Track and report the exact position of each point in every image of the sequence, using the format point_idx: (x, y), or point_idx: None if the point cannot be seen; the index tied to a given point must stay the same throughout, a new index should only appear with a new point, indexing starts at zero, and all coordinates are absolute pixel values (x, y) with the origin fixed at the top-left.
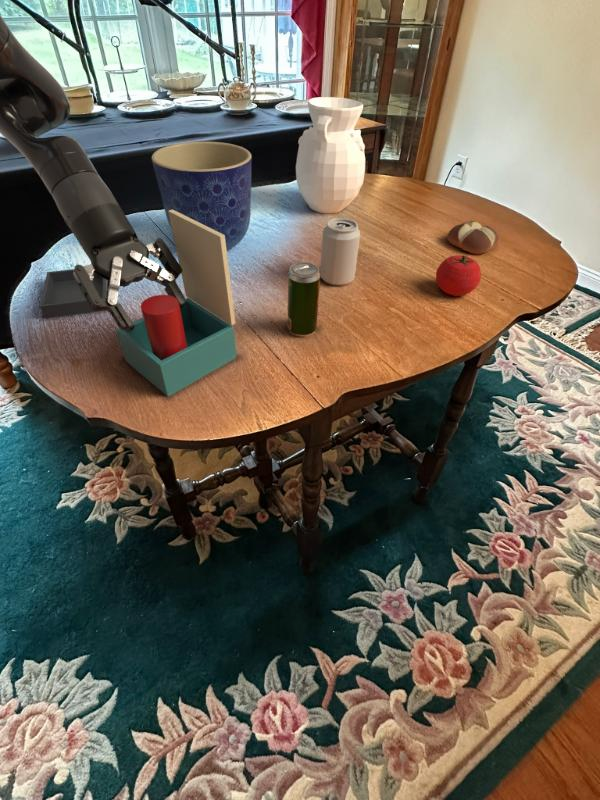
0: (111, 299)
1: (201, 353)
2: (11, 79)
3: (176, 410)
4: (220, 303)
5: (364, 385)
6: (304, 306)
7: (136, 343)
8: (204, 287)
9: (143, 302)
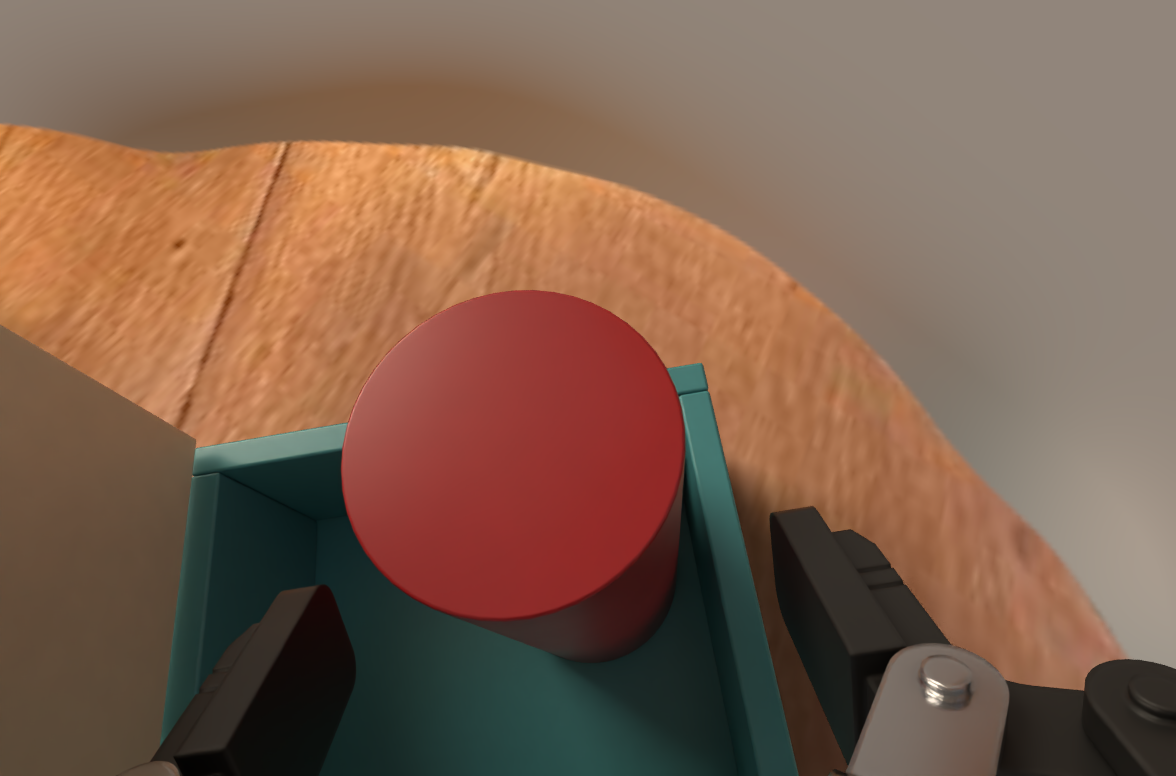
0: (960, 678)
1: None
2: None
3: (695, 359)
4: (96, 486)
5: (120, 146)
6: None
7: (748, 642)
8: (2, 680)
9: (619, 558)
